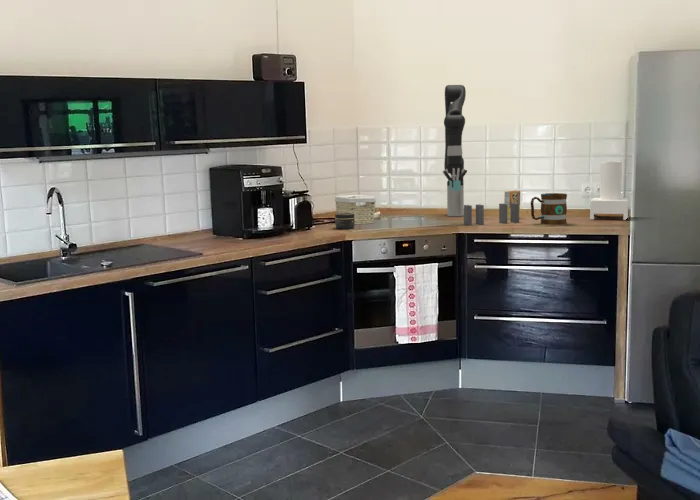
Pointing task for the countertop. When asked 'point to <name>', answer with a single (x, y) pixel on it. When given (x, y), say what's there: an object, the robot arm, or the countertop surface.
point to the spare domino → (455, 185)
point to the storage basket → (357, 207)
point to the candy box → (511, 201)
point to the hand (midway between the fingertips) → (454, 188)
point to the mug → (551, 208)
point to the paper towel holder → (610, 191)
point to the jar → (344, 221)
